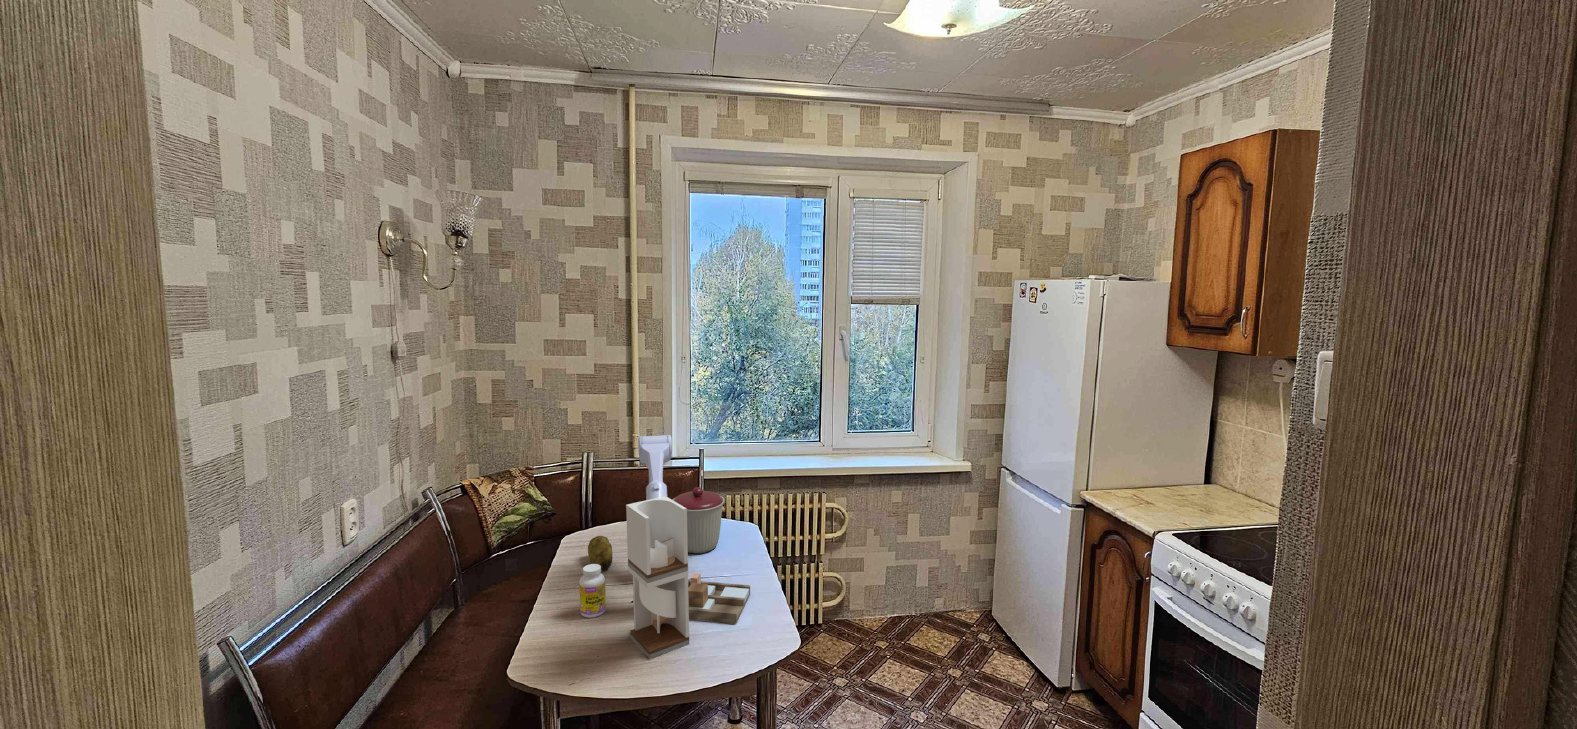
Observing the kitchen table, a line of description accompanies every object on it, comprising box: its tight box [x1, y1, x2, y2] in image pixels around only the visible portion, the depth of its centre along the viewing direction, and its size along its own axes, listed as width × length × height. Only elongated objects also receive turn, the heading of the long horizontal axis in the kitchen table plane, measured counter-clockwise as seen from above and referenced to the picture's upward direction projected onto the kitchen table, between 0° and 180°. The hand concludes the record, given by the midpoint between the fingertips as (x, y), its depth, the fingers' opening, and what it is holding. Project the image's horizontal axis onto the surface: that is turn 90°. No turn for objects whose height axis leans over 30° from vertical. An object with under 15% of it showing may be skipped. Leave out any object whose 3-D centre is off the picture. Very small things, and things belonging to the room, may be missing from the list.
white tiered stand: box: [625, 496, 690, 660], centre depth 152 cm, size 11×11×35 cm
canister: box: [672, 486, 726, 554], centre depth 209 cm, size 18×18×21 cm
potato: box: [587, 535, 613, 571], centre depth 197 cm, size 8×13×8 cm, turn 10°
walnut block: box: [688, 583, 708, 608], centre depth 168 cm, size 4×4×4 cm
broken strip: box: [689, 572, 749, 603], centre depth 175 cm, size 16×6×6 cm, turn 80°
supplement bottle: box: [578, 563, 607, 618], centre depth 167 cm, size 7×7×13 cm
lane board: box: [688, 579, 751, 625], centre depth 172 cm, size 22×16×3 cm
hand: (659, 596), depth 170 cm, fingers closed
